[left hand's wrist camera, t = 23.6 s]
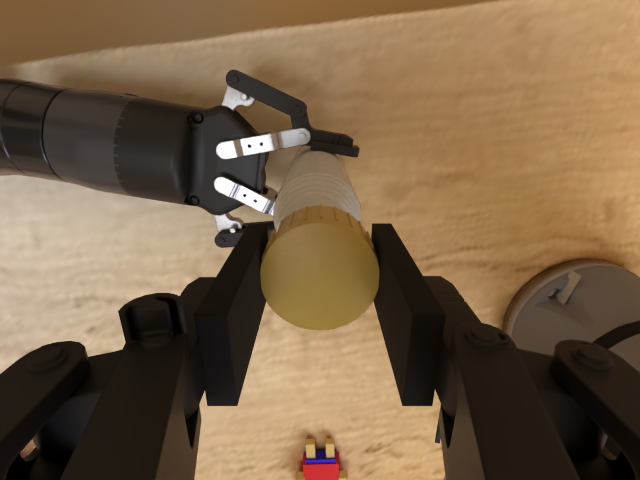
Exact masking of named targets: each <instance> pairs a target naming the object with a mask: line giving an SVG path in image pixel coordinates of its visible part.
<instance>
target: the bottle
mask: <svg viewBox="0 0 640 480" xmlns="http://www.w3.org/2000/svg"><path fill="white" fill-rule="evenodd" d="M310 147H311V146H306V145H304V146H303V147H302V148H301V149H300V150H299V151H298V152H297V154H296V156H295V158H294V160H293V162H292V165H291V167H290V169H289V171H288V174H287V176H286V178H285V180H284V183H283V185H282V187H281V189H280V192H279V194H278V196H277V198H276V201H275V204H274V209H273V221H274V225H275V229H276V227H277V226H278V224H279V223H280V220H281V219H282V220H283V219H284V218H286V217H287V216H288V215H290V214H291V213H292V212H293V211H294V212H295V211H297V210H299V209H302V208H305V206H307V207H310V206H320V205H322V206H330V207H337V208H338V209H340V210H343V211H345V212H347V213H348V212H349V213H350V215H351V216H353V217H354V218H355V219H356V220H358V221H360V222H361V208H360V204H359V200H358V198H357V196H356V193H355V191H354V189H353V186H352V184H351V181H350V179H349V177H348V174H347V172H346V169H345V167H344V165H343V162H342V160H341V157H340V155H339V154H334V153H328V152H323V151H316V150H311V149H310Z"/></svg>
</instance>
